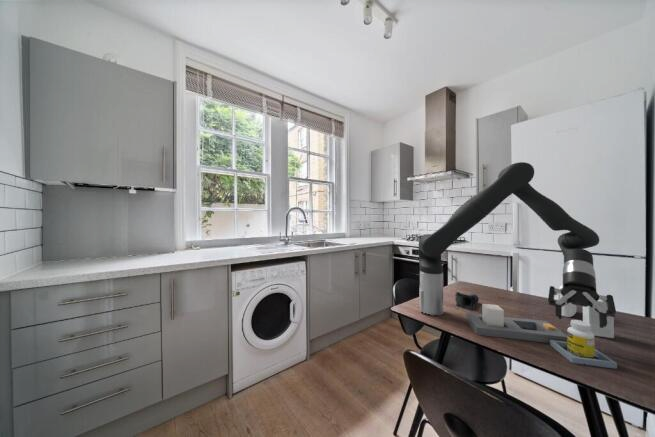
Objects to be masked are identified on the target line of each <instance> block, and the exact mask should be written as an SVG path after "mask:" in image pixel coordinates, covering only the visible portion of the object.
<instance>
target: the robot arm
mask: <svg viewBox="0 0 655 437" xmlns="http://www.w3.org/2000/svg"><path fill="white" fill-rule="evenodd" d="M534 176H535V168H534V166H533V165H532V164H530V162H529V163H528V162H525V161H524V162H522V161H521V162H515V163H512V164H510V165H509V166H507V167H505V168H503V169H502V170H501V171H500V172H499V173H498V176H497V179H496V180H495V181H494V182H493V183H491V184H490V185H488V186H487V187H485V188H483V190H481V191H479V192H478V193H476V194H474V195H473V196H472V197H470V198H469V199H468V200H466V201H465V202H464V203H463V204H461V206H459V207H458V208H457V209H456V210H455V211H454V212H453V213H452V215H450V218H449V219H448V220H447V221H446V223H445V224H443V225H442V226H441V227H440V228H438V229H437V230H436V231H434V232H432V233H430V234H429V233H427V234H424V235H423V236H421V238H420V239H419V241H418V264H419V288H418V289H419V290H418V291H419V292H418V293H419V294H418V295H419V299H418V301H419V302H418V303H419V304H418V305H419V307H420V308H419V307H418V308H419V311H420V313H421V312H424V313H423V314H425V313H427V314H426V315H428V314H430V315H429V316H434V315H438V316H442V315H443V314H444V266H443V263H442V262H443V261H442V254H443V253H444V252H445V251H446V250H447V249H448V248H449V247H450V246H451V245H452V244H453V243H454V242H455V241H456V240H457V239H458V238H460V237H461V236H462V235H464V234H465V233H467V232H468V231H469V230H471V229H472V228H474V227H475V226H476V225H477V224H479V223H480V222H481V221H482V220H483V219H485V218H486V217H487V216H488V215H489V214H490V213H492V212H493V211H494V210H496V208H497V207H498V206H499V205H500V204H502V203H503V201H505V200H506V199H507V198H509V197H510V196H511V195H512V194H513V196H515V197H517V198H518V200H520V201H522V202H523V203H524V204H525V205H526V206H527V207H528V208H529V209H531V210H532V211H533V212H534V214H536V215H537V216H538V217H539V218H540V219H541V220H542V221H543V222H544V223H545V225H547V227H548V228H550V229H551V230H552V231H555V232H557V231H559V232H560V231H568V232H564V233H562V234H561V235H559V236H558V238H557V243H558V246H559V247H560V248H559V249H560V250H561V252H562V256H563V268H562V285H563V288H562V289H559V288H555V286H552V285H550V286H549V289H548V290H549V292H548V299H547V303H548V305H549V306H553V307H554V308H555V310H554V311H555V316H556V317H557V318H558V319H559V320H563V318H562V317H563V316H562V307H563V306H565V305H567V304H569V303H572V304H573V305H576V306H581V307H583V306H584V307H587V306H589V307H590V308H592V309H593V310H594V311H596V312H597V313H598V314H599V326H600V328H604V327H606V326H607V317H608V316H611V317H614V318H615V317H616V314H617V310H616V304H615V301H614V296H613V295H612V294H606V295H600V294H598V291H597V278H596V271H595V268H594V257H593V254H592V253H591V252H590V251H588V250H587V249H589V248H592V247H593V248H594V247H596V246H598V245H599V243H600V236H599V235H598V233H597V232H596V231H595V230H593V229H592V228H590V227H588V226H586V224H585V225H584V223H581V222H580V221H578V220H577V219H574V218H573V217H572V216H571V215H569V213H568V212H567V211H566V210H565V209H564V208H562V207H561V205H559V204H558V203H557V202H555V201H554V200H552V199H550V198H549V197H547V196H545V195H544V194H542V193H540V192H539V191H537V189H535V188H534V187H533V186H532V185H531V184H530V182H531V181H532V180H533V178H534ZM558 293H561V294H562V295H563V297H561V299H559V300H558V299H557V300H555V296H558ZM599 299H600V300H602V301H603V302H604V303H605V304H607V308H608V310H605V309H604V308H602V307H601V306H600V304H599V303H598V302H597V301H598V300H599Z"/></svg>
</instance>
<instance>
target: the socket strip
mask: <svg viewBox="0 0 655 437" xmlns="http://www.w3.org/2000/svg"><path fill="white" fill-rule="evenodd" d="M481 309H482V310H481V311H482V312H481V314H475V313H466V314H465V319H466V322H467V323H468V324H469V326H470V328H471V329H472V330H473V332H474V333H475V334H476V335H478V336H488V337H495V338H496V337H497V338H504V339H505V338H506V339H511V340H522V341H530V342H539V343H549V344H550V340H555V341H564V342H567V333H564V332H563V331H561V330H560V329H559V328H557V327H555V325H552V323H550V322H549V321H547V320H542V319H541V320H539V319H531V318H530V319H529V318H519V317H509V316H508V317H507V316H505V312H504V311H505V310H504V309H503V308H502V307H500V306H499V305H497V304H491V303H490V304H488V303H482V306H481Z"/></svg>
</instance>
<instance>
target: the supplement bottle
mask: <svg viewBox="0 0 655 437" xmlns="http://www.w3.org/2000/svg"><path fill="white" fill-rule="evenodd" d="M590 330H591V325H590V324H589V323H587V322H584V321H583V320H580V319H571V320H570V326H569V327H567V331H566V332H567V333H566V335H567V350H566V351H567V352H569V353H570V354H571V355H572V356H575V357H583V358H591V359H596V358H595V357H596V356H595V349H596V348H595V345H596V344H595V342H596V341H595V337H596V336H594V334H593V333H592V332H591V331H590Z"/></svg>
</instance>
